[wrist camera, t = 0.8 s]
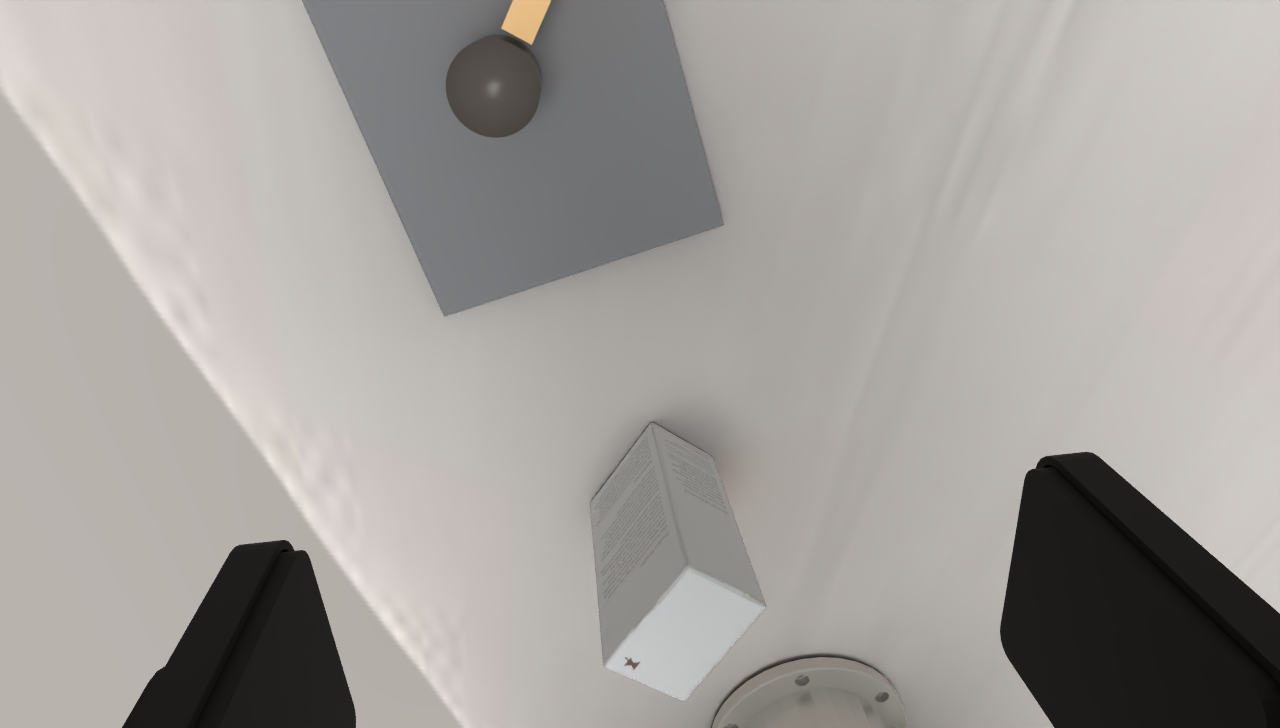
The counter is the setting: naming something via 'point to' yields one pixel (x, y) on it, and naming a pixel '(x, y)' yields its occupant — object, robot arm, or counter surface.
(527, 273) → the dial board
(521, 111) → the dial knob with pointer
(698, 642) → the skincare box
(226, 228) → the counter surface
